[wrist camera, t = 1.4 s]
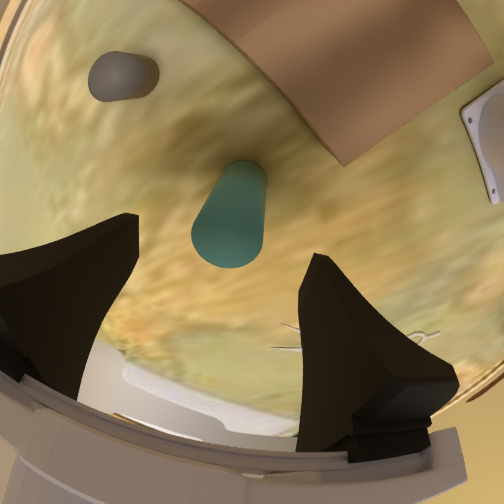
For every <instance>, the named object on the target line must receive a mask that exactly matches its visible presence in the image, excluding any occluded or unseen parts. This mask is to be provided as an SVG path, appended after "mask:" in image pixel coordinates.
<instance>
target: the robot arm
mask: <svg viewBox="0 0 504 504" xmlns="http://www.w3.org/2000/svg"><path fill="white" fill-rule="evenodd" d="M461 116H462V119H463V121H464V123H465V126H466V128H467V131H468V133H469V135H470V138H471V141H472V143H473V146H474V149H475V151H476V154H477V157H478V160H479V163H480V166H481V169H482V173H483V176H484V179H485V183H486V186H487V190H488V194H489V198H490V202H491V203H492V204H494V205H495V204H497V203H498V202H499V201H501V202H503V203H504V79H503V80H502V81H500V82H499V83H498V84H496V85H495V86H493V87H492V88H491V89H489V90H488V91H487V92H485V93H484V94H482V95H481V96H480V97H478V98H477V99H476V100H474V101H473V102H471V103H470V104H469V105H467V106H466V107H464V108H463V109H462V111H461ZM468 118H469V119H470V121H469V122H468ZM492 189H493V191H492ZM138 258H139V215H135V214H130V213H123V214H120V215H117V216H115V217H112V218H110V219H107V220H105V221H103V222H100V223H98V224H96V225H94V226H91V227H89V228H87V229H85V230H82V231H80V232H77V233H75V234H73V235H70V236H68V237H65V238H63V239H60V240H57V241H54V242H51V243H48V244H45V245H42V246H38V247H35V248H31V249H27V250H24V251H19V252H14V253H9V254H3V255H0V438H1V439H2V440H3V441H4V442H6V443H7V444H8V445H9V446H11V447H12V448H13V449H14V450H16V451H17V455H16V458H15V461H14V464H13V467H12V470H11V473H10V476H9V480H8V483H7V487H6V490H5V494H4V498H3V502H2V504H418V503H421V502H423V501H426V500H428V499H431V498H433V497H435V496H438V495H440V494H442V493H445V492H447V491H449V490H451V489H453V488H455V487H457V486H459V485H461V484H463V483H465V482H467V474H466V469H465V463H464V458H463V454H462V449H461V446H460V441H459V437H458V434H457V430H456V427H451V428H447V429H443V430H439V431H436V432H433V433H431V434H428V430H427V427H429V426H431V424H432V422H431V418H430V416H431V415H432V414H434V413H435V412H436V411H438V410H439V409H440V408H441V407H443V406H444V405H445V404H446V403H448V402H449V401H450V400H451V399H452V398H453V397H454V396H455V394H456V393H457V391H458V389H459V386H460V385H459V381H458V378H457V376H456V373H455V371H454V368H453V366H452V365H451V364H449V363H447V362H446V361H444V360H442V359H440V358H438V357H437V356H435V355H433V354H431V353H430V352H428V351H427V350H425V349H424V348H422V347H421V346H419V345H418V344H416V343H415V342H413V341H412V340H411V339H409V338H408V337H406V336H405V335H404V334H403V333H401V332H400V331H399V330H398V329H396V328H395V327H394V326H393V325H392V324H391V323H389V322H388V321H387V320H386V319H385V318H384V317H383V316H382V315H381V314H380V313H379V312H378V311H377V310H376V309H375V308H374V307H373V306H372V305H371V304H370V303H369V302H368V301H367V300H366V299H365V298H364V297H363V296H362V295H361V293H360V292H359V291H358V290H357V289H356V288H355V287H354V285H353V284H352V283H351V282H350V281H349V279H348V278H347V277H346V276H345V275H344V273H343V272H342V271H341V270H340V269H339V267H338V266H337V265H336V264H335V263H334V262H333V260H332V259H331V258H330V257H329V256H326V255H321V254H317V253H314V254H313V257H312V259H311V262H310V265H309V267H308V270H307V272H306V274H305V277H304V279H303V282H302V284H301V287H300V289H299V294H298V317H299V327H300V336H301V345H302V355H303V389H302V404H301V415H300V424H299V432H298V439H297V445H296V451H295V452H280V451H265V450H255V449H246V448H238V447H230V446H224V445H218V444H211V443H206V442H201V441H196V440H192V439H187V438H183V437H179V436H175V435H171V434H167V433H163V432H159V431H156V430H152V429H149V428H146V427H142V426H139V425H136V424H133V423H130V422H127V421H124V420H122V419H119V418H116V417H113V416H111V415H108V414H106V413H103V412H101V411H98V410H96V409H93V408H91V407H89V406H86V405H84V404H82V403H80V402H78V401H77V397H78V393H79V388H80V384H81V379H82V376H83V372H84V369H85V365H86V362H87V359H88V356H89V353H90V351H91V348H92V345H93V342H94V340H95V337H96V335H97V333H98V330H99V328H100V326H101V323H102V321H103V319H104V317H105V316H106V314H107V312H108V310H109V309H110V307H111V305H112V304H113V302H114V301H115V299H116V297H117V296H118V294H119V293H120V291H121V289H122V288H123V286H124V285H125V283H126V282H127V280H128V278H129V277H130V275H131V273H132V271H133V269H134V267H135V265H136V263H137V260H138ZM241 473H246V474H258V475H265V476H264V477H263V479H260V478H253V477H245V476H243V475H242V474H241Z"/></svg>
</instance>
